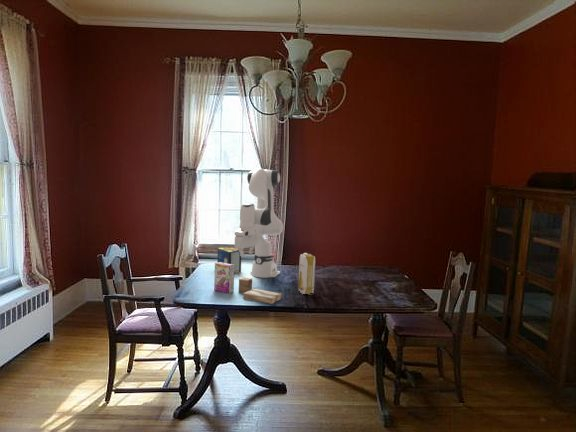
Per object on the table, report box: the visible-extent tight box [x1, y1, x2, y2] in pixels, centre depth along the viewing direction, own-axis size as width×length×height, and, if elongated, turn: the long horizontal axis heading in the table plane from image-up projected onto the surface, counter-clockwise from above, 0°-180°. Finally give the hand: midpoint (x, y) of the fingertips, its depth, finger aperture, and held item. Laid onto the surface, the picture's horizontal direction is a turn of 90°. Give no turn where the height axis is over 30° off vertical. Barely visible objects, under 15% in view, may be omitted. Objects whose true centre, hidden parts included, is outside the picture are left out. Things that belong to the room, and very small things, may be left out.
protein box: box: [216, 246, 242, 274], centre depth 300 cm, size 10×15×16 cm
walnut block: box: [238, 276, 253, 294], centre depth 250 cm, size 5×6×8 cm
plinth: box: [242, 288, 283, 305], centre depth 239 cm, size 12×18×3 cm, turn 64°
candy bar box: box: [213, 261, 235, 294], centre depth 249 cm, size 11×5×16 cm, turn 59°
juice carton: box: [297, 252, 316, 295], centre depth 252 cm, size 9×8×24 cm
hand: (246, 254), depth 248 cm, fingers open, 8 cm apart
